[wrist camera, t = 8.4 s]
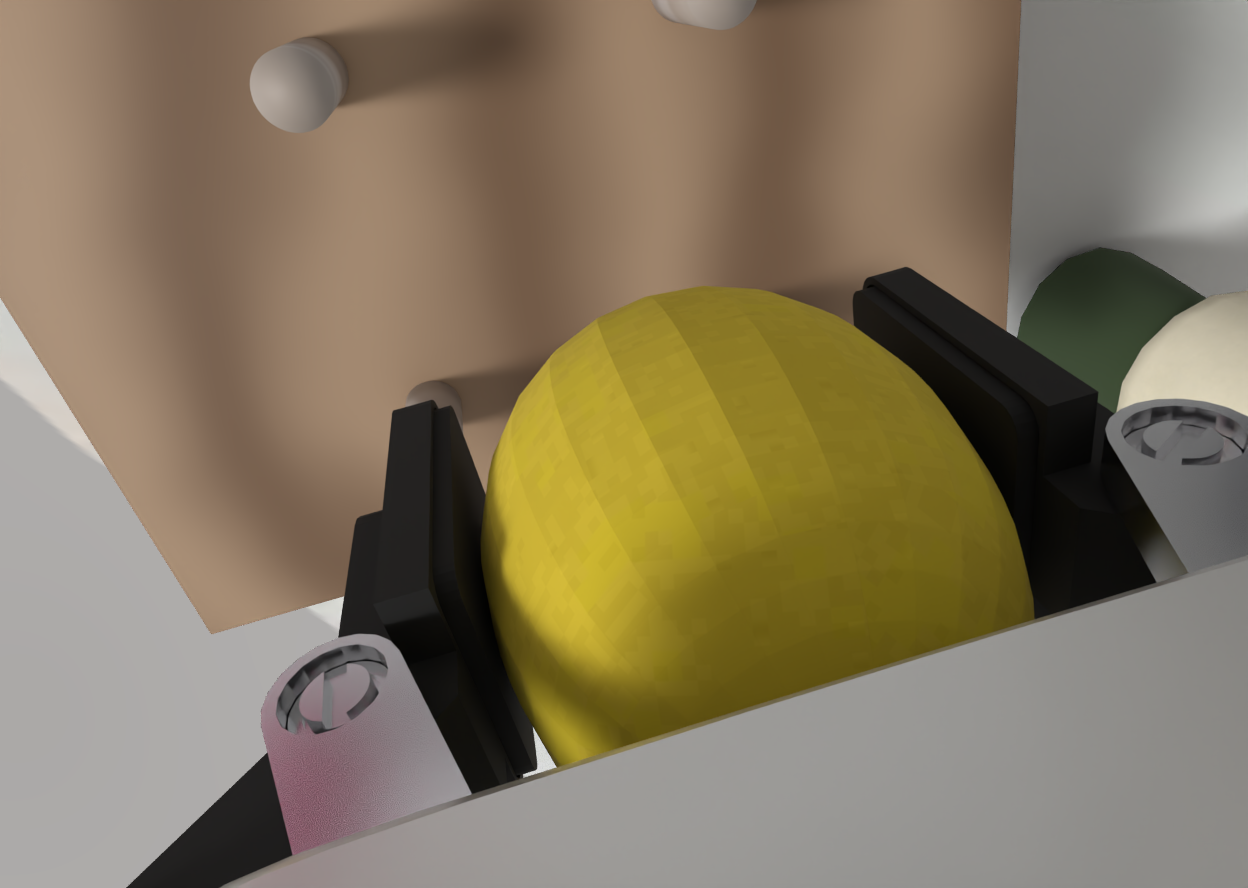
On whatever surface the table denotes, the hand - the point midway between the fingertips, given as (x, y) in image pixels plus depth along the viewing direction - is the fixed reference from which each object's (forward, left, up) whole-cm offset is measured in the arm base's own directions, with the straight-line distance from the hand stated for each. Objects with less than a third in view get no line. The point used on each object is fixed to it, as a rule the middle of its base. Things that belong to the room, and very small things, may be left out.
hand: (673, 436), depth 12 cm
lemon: (0, 0, -2) cm, 2 cm away
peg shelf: (0, -1, -19) cm, 19 cm away
